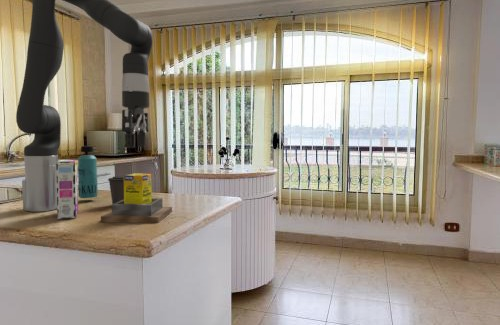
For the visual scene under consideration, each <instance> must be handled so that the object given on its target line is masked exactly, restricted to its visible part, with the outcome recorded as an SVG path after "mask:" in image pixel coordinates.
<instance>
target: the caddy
mask: <svg viewBox="0 0 500 325" xmlns="http://www.w3.org/2000/svg"><path fill="white" fill-rule="evenodd" d="M163 201H164V200H163V198H162V197H152V203H150V204H124V199H123V200H121V201H119V202H117V203H114V204H111V211H109V212H106V213H105V214H103V215H100V222H101V223H150V224H151V223H153V224H154V223H155V224H157V223H160V222H161V221H163V219H165V218H166V217H167V216H168V215H169V214H171V213H172V212H173V206H164V205H163V204H164V203H163Z"/></svg>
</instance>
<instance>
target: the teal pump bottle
mask: <svg viewBox="0 0 500 325" xmlns="http://www.w3.org/2000/svg"><path fill="white" fill-rule="evenodd" d="M94 152H95V151H94V146H91V145H82V146H81V147H80V153H94ZM97 160H98V159H97V157H96V156H95V155H94V154H93V155H92V154H89V155H88V154H85V155H84V154H83V155H80V156H78V158H77V170H78V199H91V198H92V199H93V198H97V197H98V196H99V195H98V179H99V178H98V162H97Z"/></svg>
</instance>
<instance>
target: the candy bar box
mask: <svg viewBox="0 0 500 325" xmlns="http://www.w3.org/2000/svg"><path fill="white" fill-rule="evenodd" d="M56 173H57V209H56V212H57V218H56V219H57V220H60V221H61V220H73V219H76V218H77V217H78V216H77V215H78V212H79V196H78V195H79V190H78V186H79V185H78V159H60V160H58V162H56Z"/></svg>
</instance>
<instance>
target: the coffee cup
mask: <svg viewBox="0 0 500 325" xmlns="http://www.w3.org/2000/svg"><path fill="white" fill-rule="evenodd" d="M124 175H125V174H123V175H115V176H112V177H109V178H108V179H107V181H108V182H109V189H110V197H111V202H112V204H114V203H117V202H119V201H121V200H123V199H124ZM112 204H111V205H112Z"/></svg>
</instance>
